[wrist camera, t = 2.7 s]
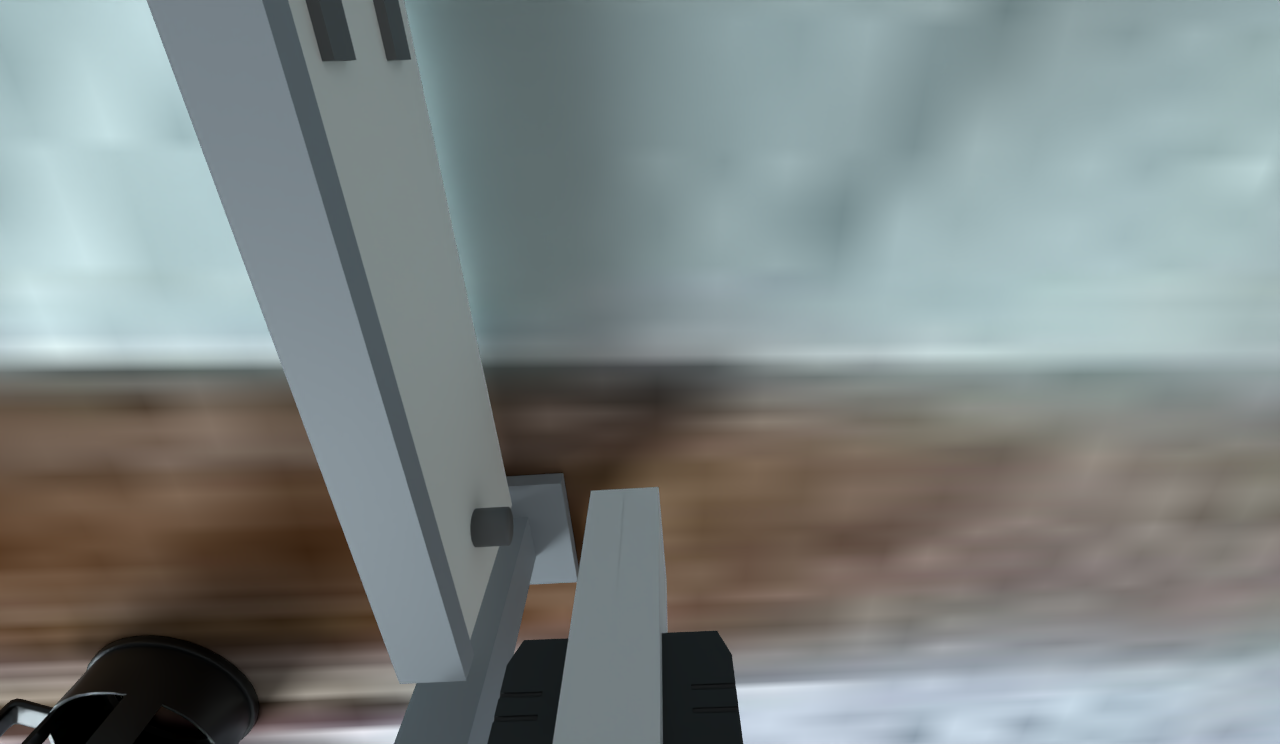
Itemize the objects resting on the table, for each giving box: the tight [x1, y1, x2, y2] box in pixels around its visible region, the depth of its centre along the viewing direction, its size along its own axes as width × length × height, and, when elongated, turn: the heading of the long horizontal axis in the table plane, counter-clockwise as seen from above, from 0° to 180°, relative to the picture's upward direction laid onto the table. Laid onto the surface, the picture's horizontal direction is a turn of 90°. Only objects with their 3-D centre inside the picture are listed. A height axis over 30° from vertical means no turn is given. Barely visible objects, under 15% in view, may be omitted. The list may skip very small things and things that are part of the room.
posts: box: [394, 473, 579, 744], centre depth 18 cm, size 34×6×15 cm, turn 5°
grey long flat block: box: [147, 0, 514, 684], centre depth 19 cm, size 23×3×9 cm, turn 5°
